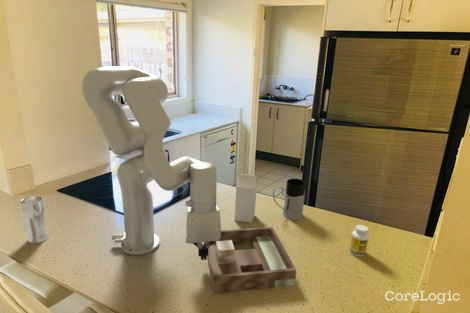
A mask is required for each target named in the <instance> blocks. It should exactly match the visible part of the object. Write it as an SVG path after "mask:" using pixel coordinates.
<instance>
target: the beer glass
mask: <svg viewBox="0 0 470 313" xmlns="http://www.w3.org/2000/svg"><path fill="white" fill-rule="evenodd" d="M19 210H20V215H21V220H22V221H23V223H24V226H25V228H26V231H27V242H28V243H29V244H31V245H35V244H40V243H43V242H45V241H46V240H48V238H49V236H48V235H49V234H48V232H47V230H46V207H45V203H44V199H43V197H42V196H41V195H29V196H26V197H24V198H22V199H21V200H20V201H19Z"/></svg>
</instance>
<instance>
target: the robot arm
mask: <svg viewBox="0 0 470 313" xmlns="http://www.w3.org/2000/svg"><path fill="white" fill-rule="evenodd" d="M81 86H82V88H81V89H82V94H83V97H84V100H85V102H86V105H87V106H88V107H89V109H90V110H91V111H92V113H93V115H94V116H95V118H96V120H97V123H98V124H99V127H100V129H101V131H102V133H103V136H104V139H105V140H106V143H107V145H108V146H109V149H110V150H111V152H112V153H113V154H114V155H115V156H119V157H123V156H127V155H130V154H133V153H137V152H138V155H135V156H133V157H130V158H127V159H125V160H124V161H122V162H121V163H120V164H119V166H117V170H116V177H117V180H118V184H119V187H120V188H119V189H120V192H121V199H122V201H121V202H122V210H123V223H124V232H122V233H114V234H111V241H114V242H113V243H114V244H119V243H120V247H121V250H122V252H124V253H125V254H128V255H133V256H142V255H145V254H149V253H152V252H153V251H155V250H156V249H157V248H158V247H159V245H160V238H159V236H157V234H155V225H154V224H155V223H154V222H155V220H154V203H153V202H154V201H153V198H154V197H153V194H152V192H151V190H150V189H149V187H148V184H149V183H151V182H152V181H155V183H156V184H157V185H158V186H159V187H160V188H161V189H162V190H165V191H168V192H171V191H175V190H177V189H178V188H181V187H182V186H184V185H185V184H188V183H189V185H190V186H189V188H190V190H189V193H190V194H189V195H190V197H189V200H186V201H185V204H184V205H185V207H186V206H187V207H188V210H187V213H186V214H187V215H186V224H185V226H186V227H185V230H186V231H185V232H186V233H185V234H186V237H185V243H186V244H193V245H194V246H195V247H197V249H198V253H197V254H198V257H200V260H201V261H204V260H205V261H206V260H207V256H208V248H209V247H210V245H212V244H213V243H214V242H216V241H220V240H221V230H222V227H221V226H222V225H221V214H220V209H219V207H218V205H217V185H218V184H217V174H218V170H217V167H216V165H215V164H214V163H212V162H208V161H201V160H198V159H197V158H194V157H191V156H187V155H186V156H184V155H183V156H181V157H178V158H176V159H175V160H172V161H169V160H168V158H167V156H166V153H165V152H164V146H163V145H164V144H163V142H164V137H165V135H166V133H167V132H168V130H169V129H170V127H171V123H172V122H171V119H170V118H169V116H168V114H167V112H166V110H165V109H164V107H163V105H162V103H164V102H166V100H167V99H168V96H169V88H168V86H167V84H166V82H165V81H164V80H163V79H161V78H160V77H158V76H156V75H155V74H151V73H149V72H147V71H144V70H141V69H139V68H136V67H134V66H131V65H129V66H128V65H122V66H119V65H118V66H101V67H96V68H93V69H90V70H89V71H87V72H86V73H85V75H84V76H83V79H82V83H81ZM116 95H118V96H119V95H122V97H123V98H124V100H125V103H126V104H127V106H128V107H129V110H130V111H131V113H132V115H133V117H134V119H135V121H133V122H132V121H131V122H130V120H129V119H128V116H127V115H126V112H125V110H124V108H123V107H122V106H121V104H119V102H117V101H116V100H114V99H113V96H116Z"/></svg>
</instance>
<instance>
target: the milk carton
mask: <svg viewBox="0 0 470 313" xmlns="http://www.w3.org/2000/svg"><path fill="white" fill-rule="evenodd" d="M257 188H258V180H257V175H253V174H243V173H238V176H237V181H236V186H235V205H234V206H235V207H234V208H235V209H234V221H235V222H241V223H242V222H243V223H249V224H252V223H253V221H254V218H255V215H256V203H257V202H256V201H257V200H256V199H257Z"/></svg>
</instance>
